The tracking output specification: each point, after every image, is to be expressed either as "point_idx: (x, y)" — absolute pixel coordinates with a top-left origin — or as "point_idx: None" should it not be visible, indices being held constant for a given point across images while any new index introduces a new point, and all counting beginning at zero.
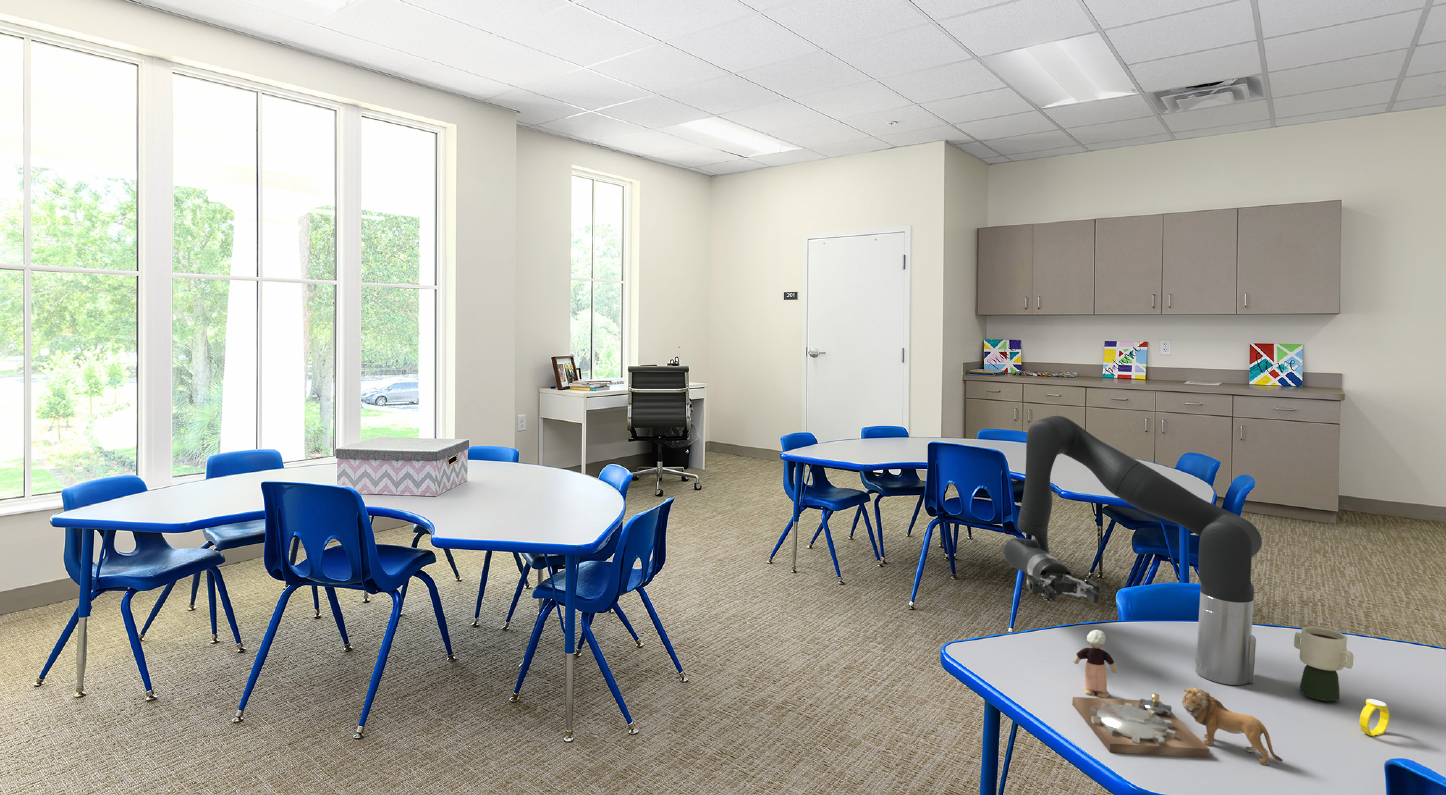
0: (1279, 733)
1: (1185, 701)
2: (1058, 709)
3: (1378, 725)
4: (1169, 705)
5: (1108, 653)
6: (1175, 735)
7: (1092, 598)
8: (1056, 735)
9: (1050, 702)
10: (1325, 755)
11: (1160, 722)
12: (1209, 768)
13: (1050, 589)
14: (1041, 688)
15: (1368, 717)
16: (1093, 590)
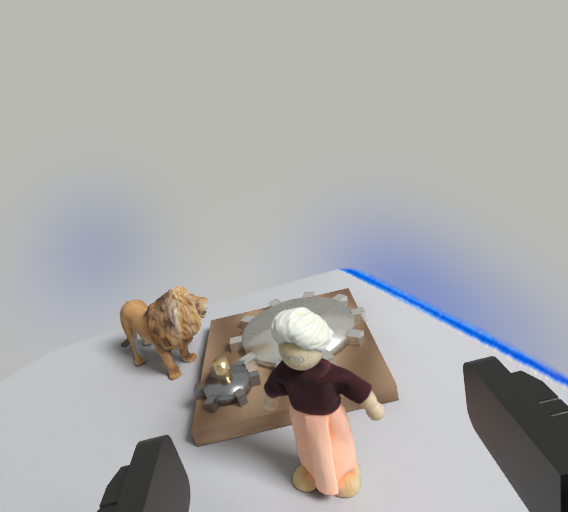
0: (29, 428)
1: (197, 311)
2: (429, 372)
3: None
4: (195, 389)
5: (274, 368)
6: (240, 331)
7: (177, 483)
8: (427, 305)
9: (450, 393)
10: (33, 388)
11: (250, 333)
12: (230, 314)
13: (515, 379)
14: (489, 457)
15: None
16: (115, 507)
